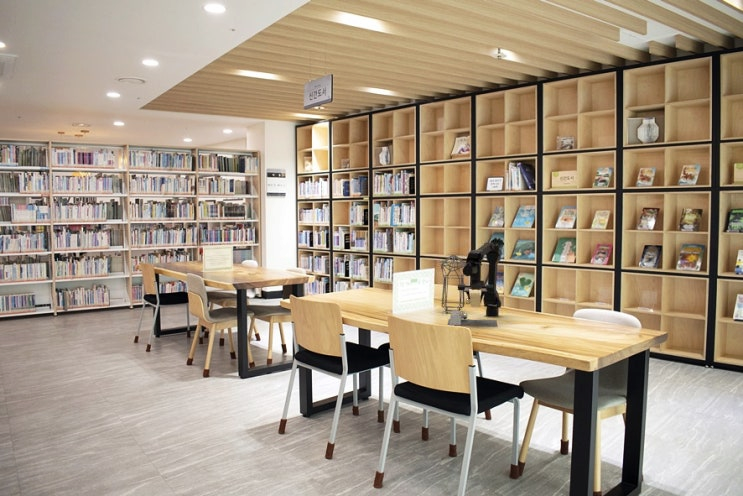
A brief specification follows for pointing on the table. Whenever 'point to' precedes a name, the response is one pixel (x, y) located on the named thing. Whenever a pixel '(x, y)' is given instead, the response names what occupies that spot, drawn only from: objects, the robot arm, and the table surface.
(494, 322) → the jig board
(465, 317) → the grey block with knob
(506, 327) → the table surface
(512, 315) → the table surface
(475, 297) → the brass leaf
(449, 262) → the geometric lantern
